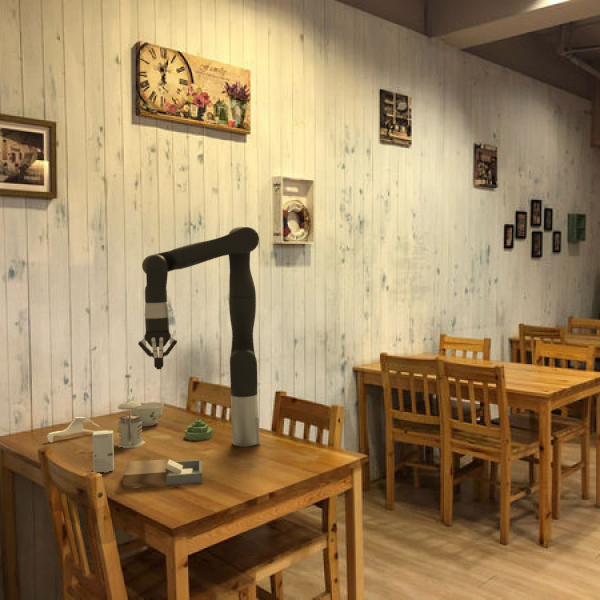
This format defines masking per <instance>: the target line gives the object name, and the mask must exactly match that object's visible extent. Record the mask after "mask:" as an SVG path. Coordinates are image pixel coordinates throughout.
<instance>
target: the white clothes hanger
mask: <svg viewBox="0 0 600 600" xmlns="http://www.w3.org/2000/svg"><path fill="white" fill-rule="evenodd" d="M86 423H90V424H92V425H93V426H96V428H101V424H98V423H95V422H94V421H93V420H92V419H90V418H89V419H88V418H87V417H85V416H75V417H73V419H72V422H71V423H70V424H68V426H67V427H66V428H65V429H63V430H58V431H57V430H56V431H53V432H49V433H47V435H46V439H47V440H48V442H49V443H51V444H52V443H53V441H54V437H55V436H57V437H58V436H69V435H74V434H77V433H79V434H81V433H83V432H84V433H93V432H94V431H95V430H91V429H86V428H84V424H86Z"/></svg>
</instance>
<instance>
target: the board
mask: <svg viewBox="0 0 600 600" xmlns="http://www.w3.org/2000/svg"><path fill="white" fill-rule="evenodd" d="M168 461H169V458H168V459H167V458H166V459H164V458H163V459H151V460H138V461H137V460H136V461H128V462H127V464H126V467H125V468H124V472H123V475H122V481H123V483H122V484H123V489H124V488H130V489H135V488H134V487H143V488H152V487H153V488H155V487H168V486H167V482H166V475H168V473H169V470H168V469H165V468H166V465H167V463H168Z"/></svg>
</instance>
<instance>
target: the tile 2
mask: <svg viewBox="0 0 600 600" xmlns="http://www.w3.org/2000/svg"><path fill="white" fill-rule="evenodd" d="M187 473H193V468H190V469H182V471H181V472H180V474H187Z"/></svg>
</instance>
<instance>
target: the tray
mask: <svg viewBox="0 0 600 600" xmlns="http://www.w3.org/2000/svg"><path fill="white" fill-rule="evenodd" d="M173 461H174V462H176V463H178V464H181V465H183V467H182V469H190V468H193V473H187V474H176V473H174V472H172V471H170V470H169V473H168V475H166V482H167V486H166V487H175V486H188V485H189V484H190V485H200V484H201V485H202V484H203V459H190V460H176V461H175V460H173Z"/></svg>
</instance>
